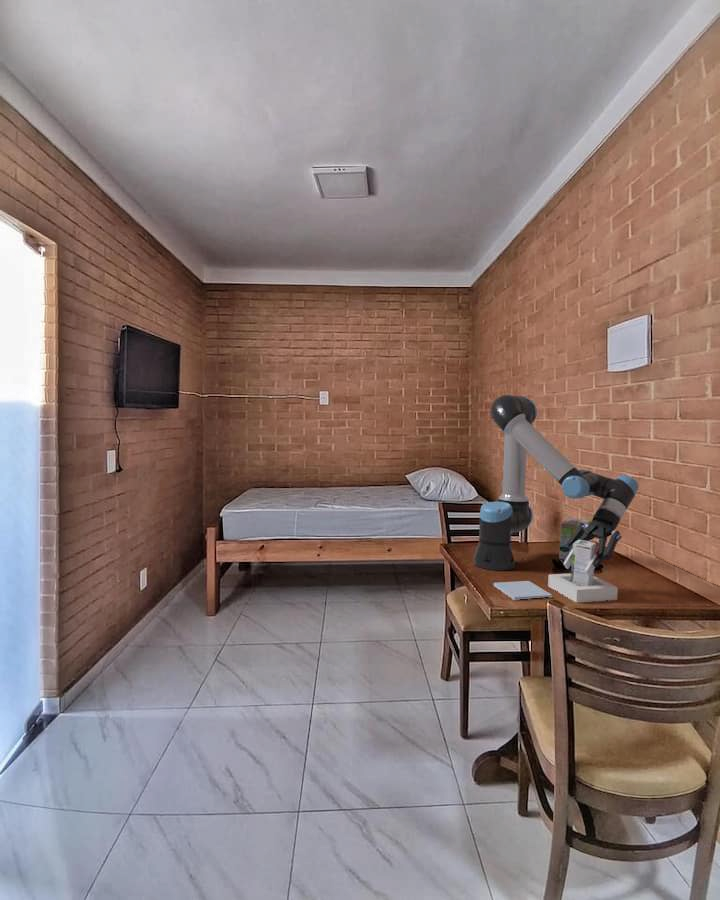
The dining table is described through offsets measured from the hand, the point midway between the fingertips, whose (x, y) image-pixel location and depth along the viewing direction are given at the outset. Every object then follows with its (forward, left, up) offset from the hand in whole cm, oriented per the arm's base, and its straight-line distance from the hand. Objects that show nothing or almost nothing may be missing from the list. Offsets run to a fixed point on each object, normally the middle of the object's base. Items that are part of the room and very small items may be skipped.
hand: (576, 569), depth 154 cm
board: (-5, -16, -8) cm, 19 cm away
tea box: (-38, +28, -8) cm, 48 cm away
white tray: (-1, +3, -8) cm, 9 cm away
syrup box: (-1, +3, -6) cm, 7 cm away
